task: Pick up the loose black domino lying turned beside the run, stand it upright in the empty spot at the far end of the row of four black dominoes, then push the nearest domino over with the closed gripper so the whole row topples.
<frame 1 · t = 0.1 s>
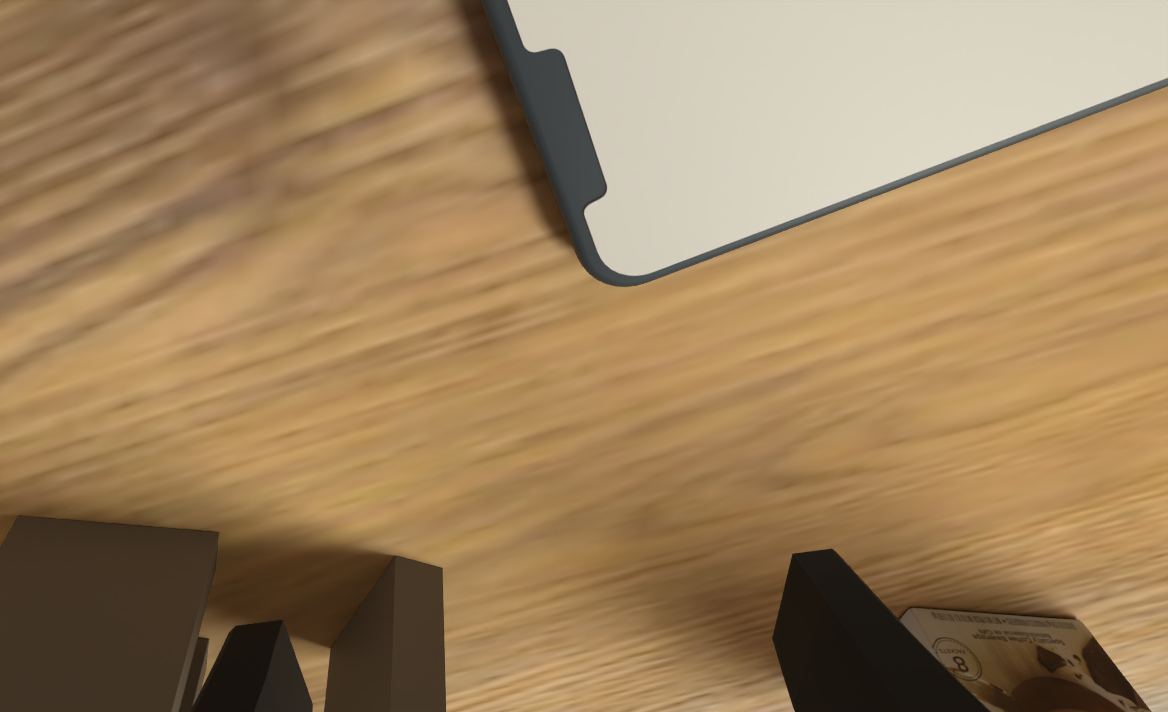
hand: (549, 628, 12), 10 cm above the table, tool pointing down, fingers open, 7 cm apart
coffee box: (955, 651, 34), on the table
domino 3: (121, 650, 25), on the table
end domino: (385, 609, 26), on the table
domino 4: (121, 543, 23), on the table
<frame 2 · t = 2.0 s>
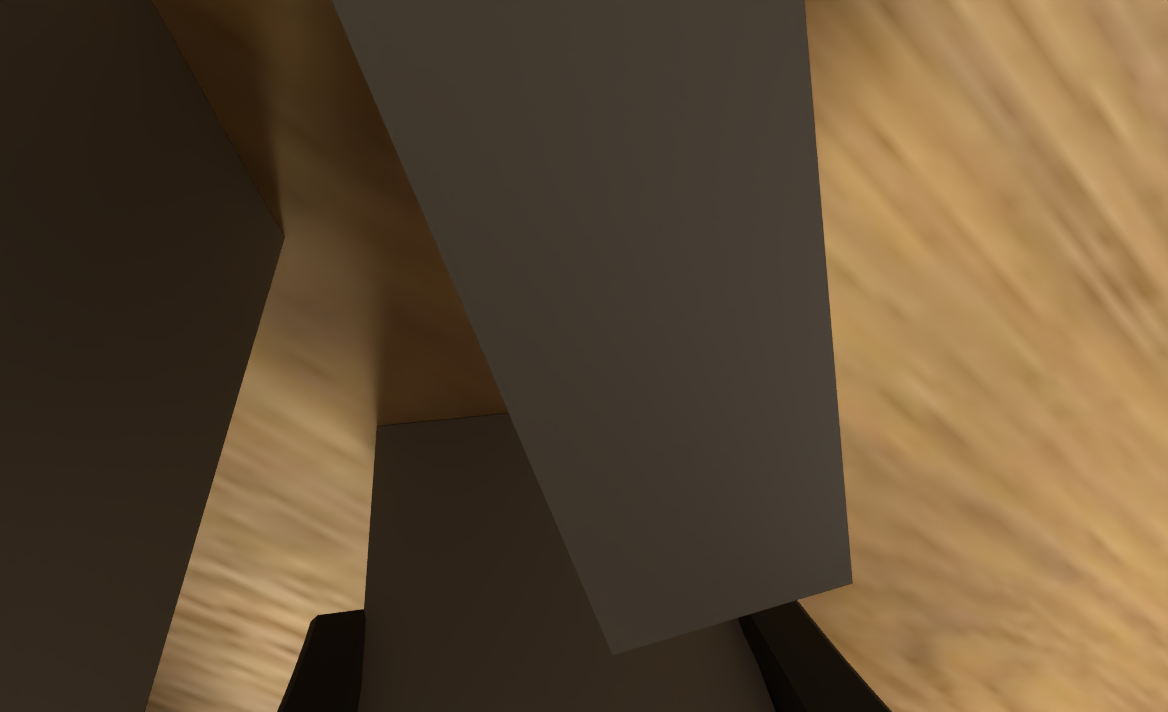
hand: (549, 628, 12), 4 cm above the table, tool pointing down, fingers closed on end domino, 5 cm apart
domino 3: (130, 89, 10), on the table
end domino: (522, 445, 15), on the table, touching gripper
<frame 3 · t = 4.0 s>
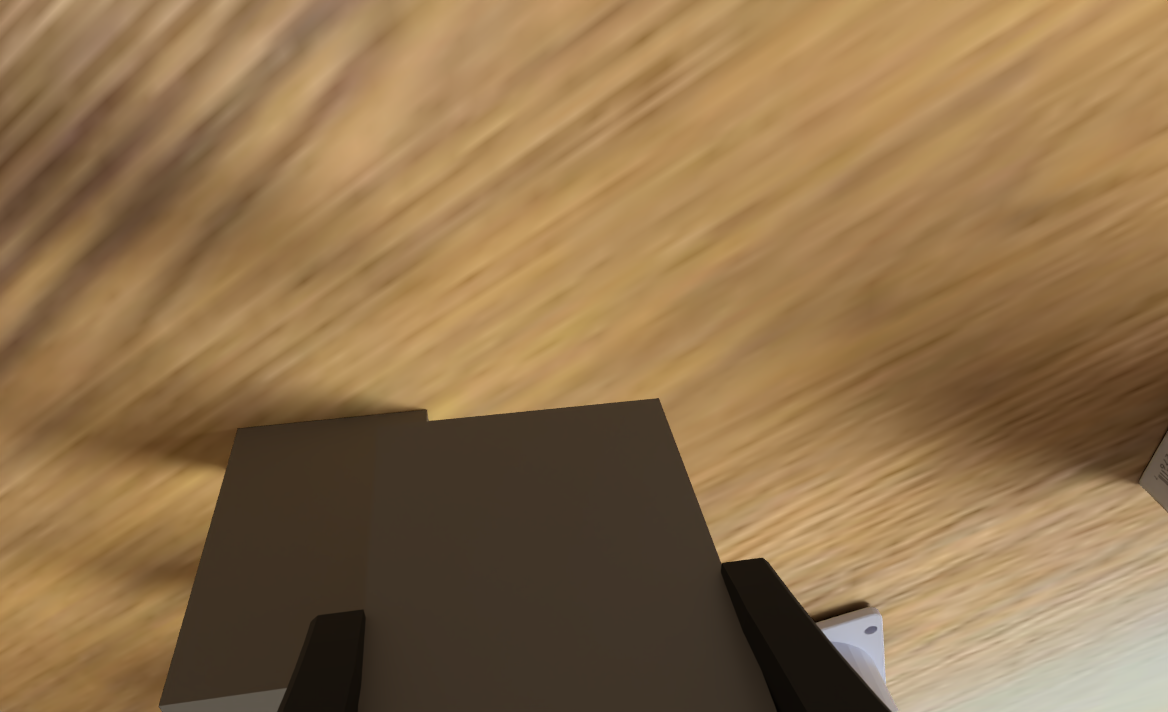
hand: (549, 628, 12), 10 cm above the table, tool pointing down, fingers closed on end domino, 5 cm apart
end domino: (523, 445, 15), point 7 cm above the table, touching gripper
domino 4: (338, 440, 22), on the table
when the fingers open (5 cm above the table, at t = 6.4 s): end domino stays where it is, on the table.
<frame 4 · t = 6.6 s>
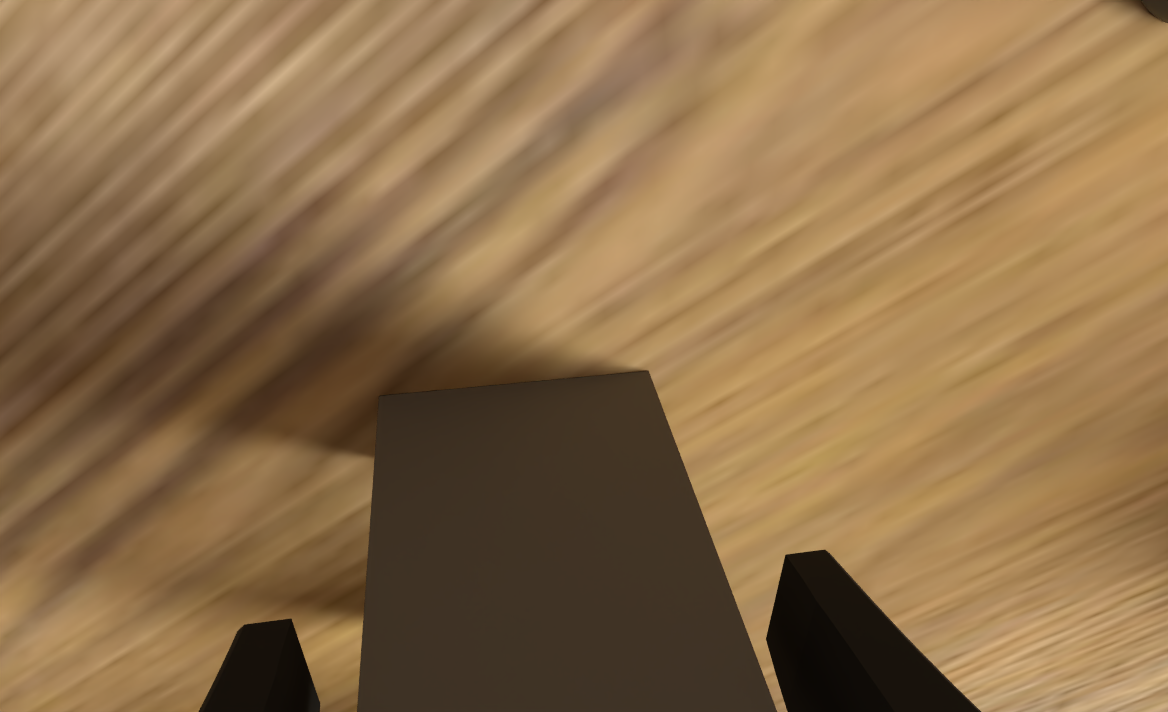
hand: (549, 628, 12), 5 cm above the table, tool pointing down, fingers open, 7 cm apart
end domino: (518, 416, 15), on the table
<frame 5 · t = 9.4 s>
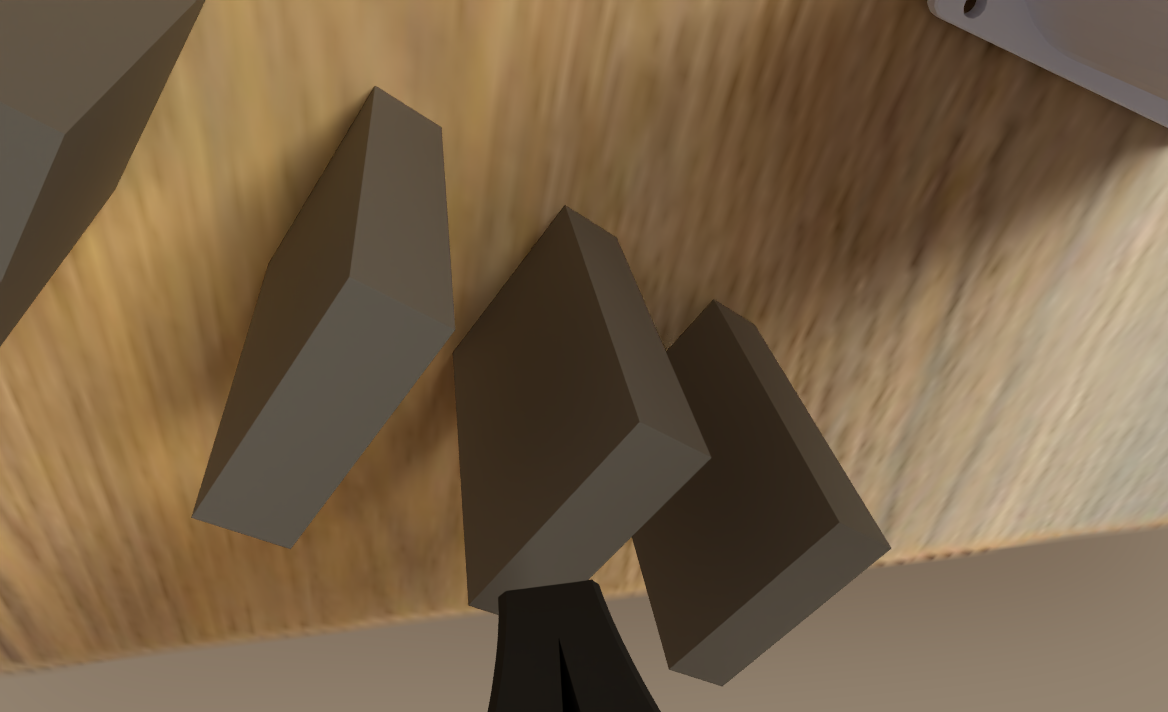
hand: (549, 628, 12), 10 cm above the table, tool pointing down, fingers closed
domino 1: (675, 376, 23), on the table
domino 3: (352, 197, 18), on the table
domino 4: (119, 69, 16), on the table
domino 2: (532, 296, 20), on the table
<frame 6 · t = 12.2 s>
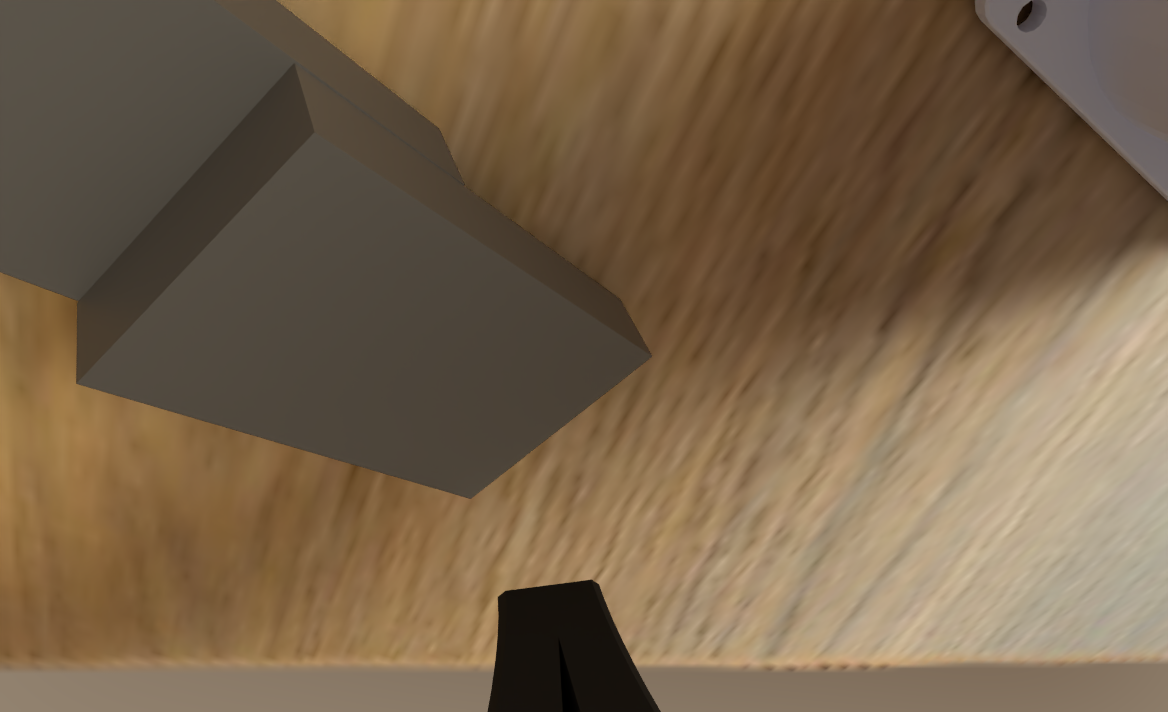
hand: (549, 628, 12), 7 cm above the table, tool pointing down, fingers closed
domino 1: (544, 400, 17), point 1 cm above the table, tilted 71°, touching domino 2
domino 2: (351, 251, 14), point 1 cm above the table, tilted 71°, touching domino 1, domino 3
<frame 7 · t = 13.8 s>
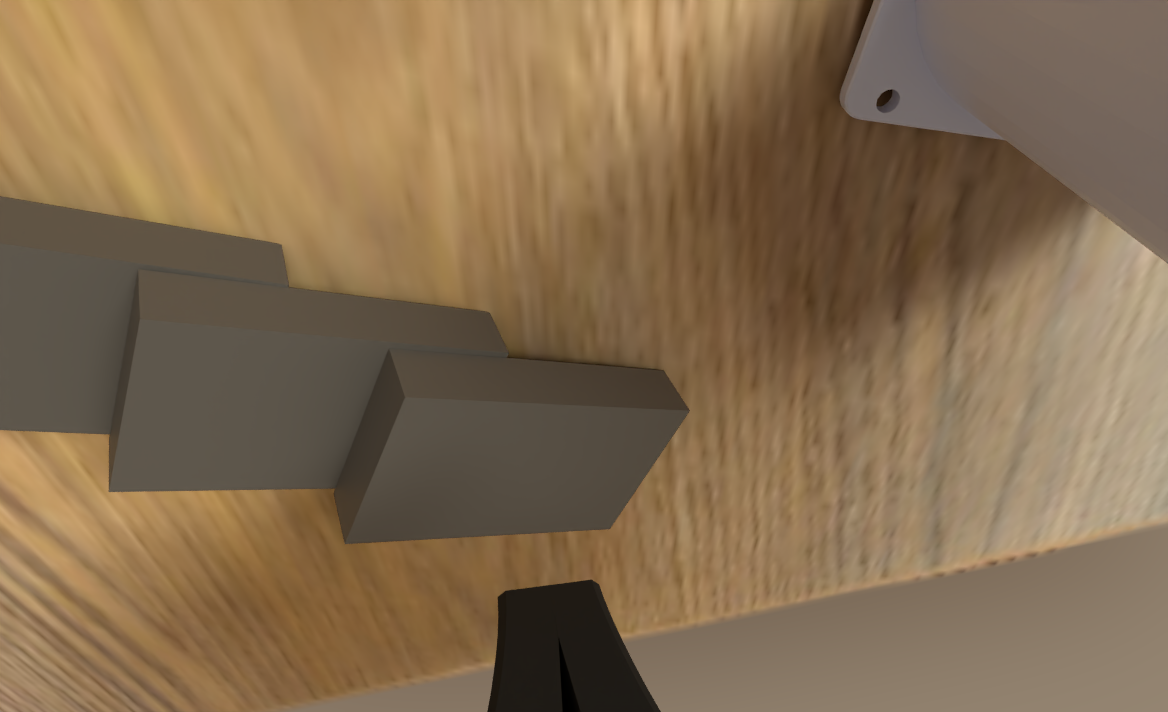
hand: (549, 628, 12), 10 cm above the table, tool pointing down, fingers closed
domino 1: (635, 452, 23), point 1 cm above the table, tilted 73°
domino 3: (260, 345, 20), point 1 cm above the table, tilted 74°, touching domino 2, domino 4
domino 2: (464, 402, 22), point 1 cm above the table, tilted 72°, touching domino 3
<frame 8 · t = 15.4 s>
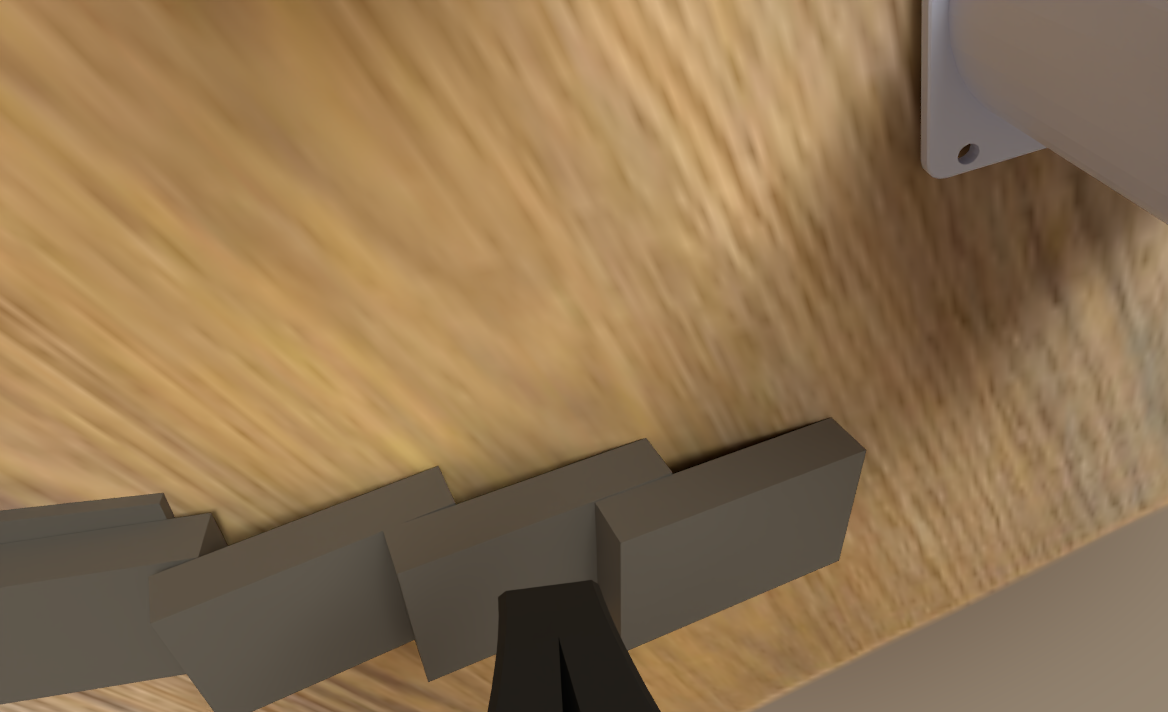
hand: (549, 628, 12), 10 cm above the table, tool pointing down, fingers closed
domino 1: (835, 491, 26), point 1 cm above the table, tilted 74°, touching domino 2
domino 3: (462, 540, 24), point 1 cm above the table, tilted 73°, touching domino 2
end domino: (193, 540, 24), on the table, tilted 90°
domino 4: (233, 590, 24), point 1 cm above the table, tilted 90°
domino 2: (657, 512, 25), point 1 cm above the table, tilted 74°, touching domino 1, domino 3
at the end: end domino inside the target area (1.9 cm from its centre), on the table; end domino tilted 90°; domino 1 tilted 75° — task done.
